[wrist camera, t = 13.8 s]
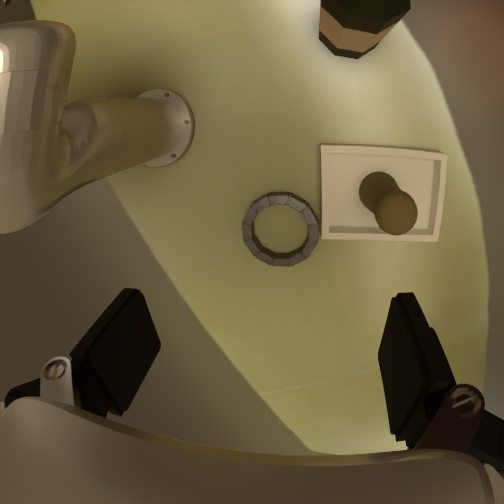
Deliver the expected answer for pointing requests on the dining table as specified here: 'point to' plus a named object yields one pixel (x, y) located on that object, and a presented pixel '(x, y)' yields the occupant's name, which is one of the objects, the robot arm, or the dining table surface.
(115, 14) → the dining table surface
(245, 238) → the stone ring
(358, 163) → the white rectangular tray
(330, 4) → the wine bottle
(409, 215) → the cork
